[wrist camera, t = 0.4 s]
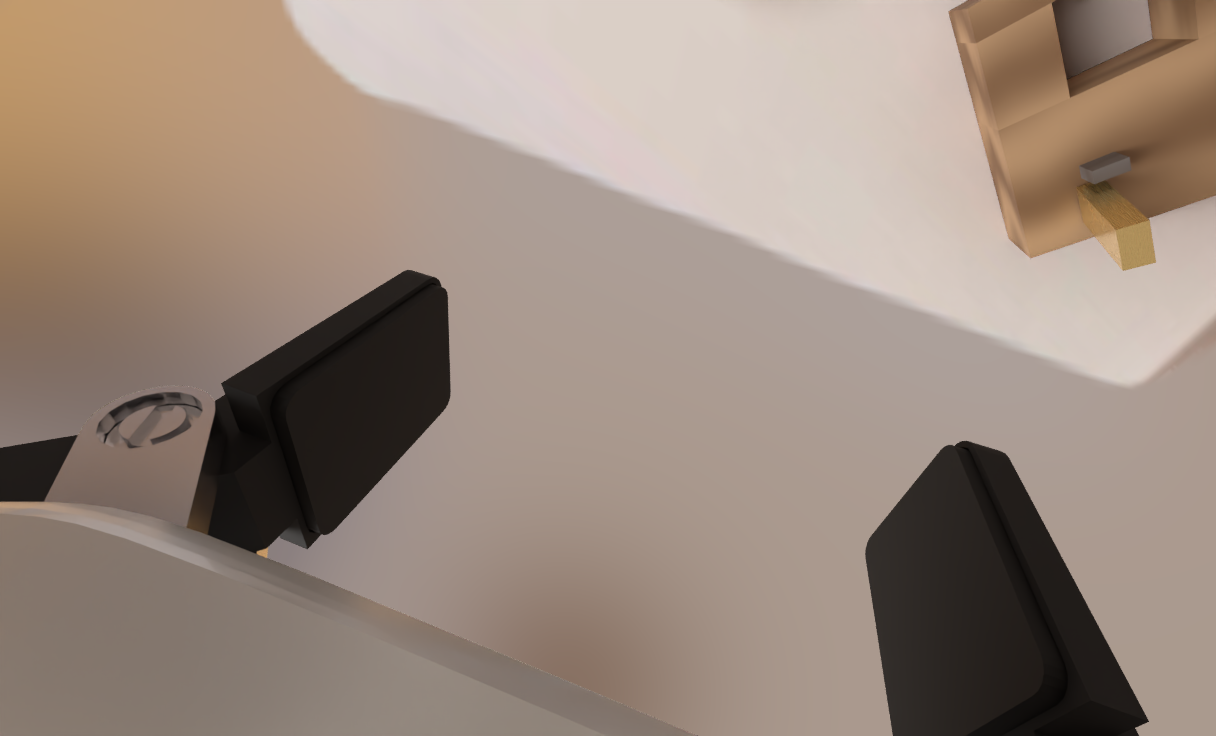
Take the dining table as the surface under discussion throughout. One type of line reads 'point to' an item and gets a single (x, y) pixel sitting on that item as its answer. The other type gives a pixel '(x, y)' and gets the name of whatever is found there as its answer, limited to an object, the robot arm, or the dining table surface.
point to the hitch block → (1089, 115)
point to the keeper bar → (1116, 225)
